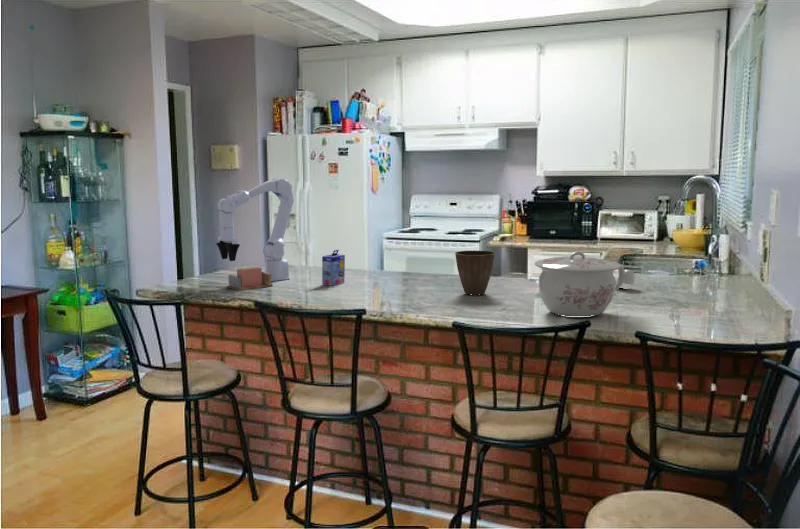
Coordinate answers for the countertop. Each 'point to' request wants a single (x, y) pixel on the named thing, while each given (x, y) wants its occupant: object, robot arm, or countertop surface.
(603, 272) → the chamber pot
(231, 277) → the gray rectangular bar
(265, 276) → the shelf
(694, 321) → the countertop surface
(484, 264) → the plant pot
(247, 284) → the pink rectangular pillar
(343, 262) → the ink cartridge box
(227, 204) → the robot arm
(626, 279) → the white plastic bottle
